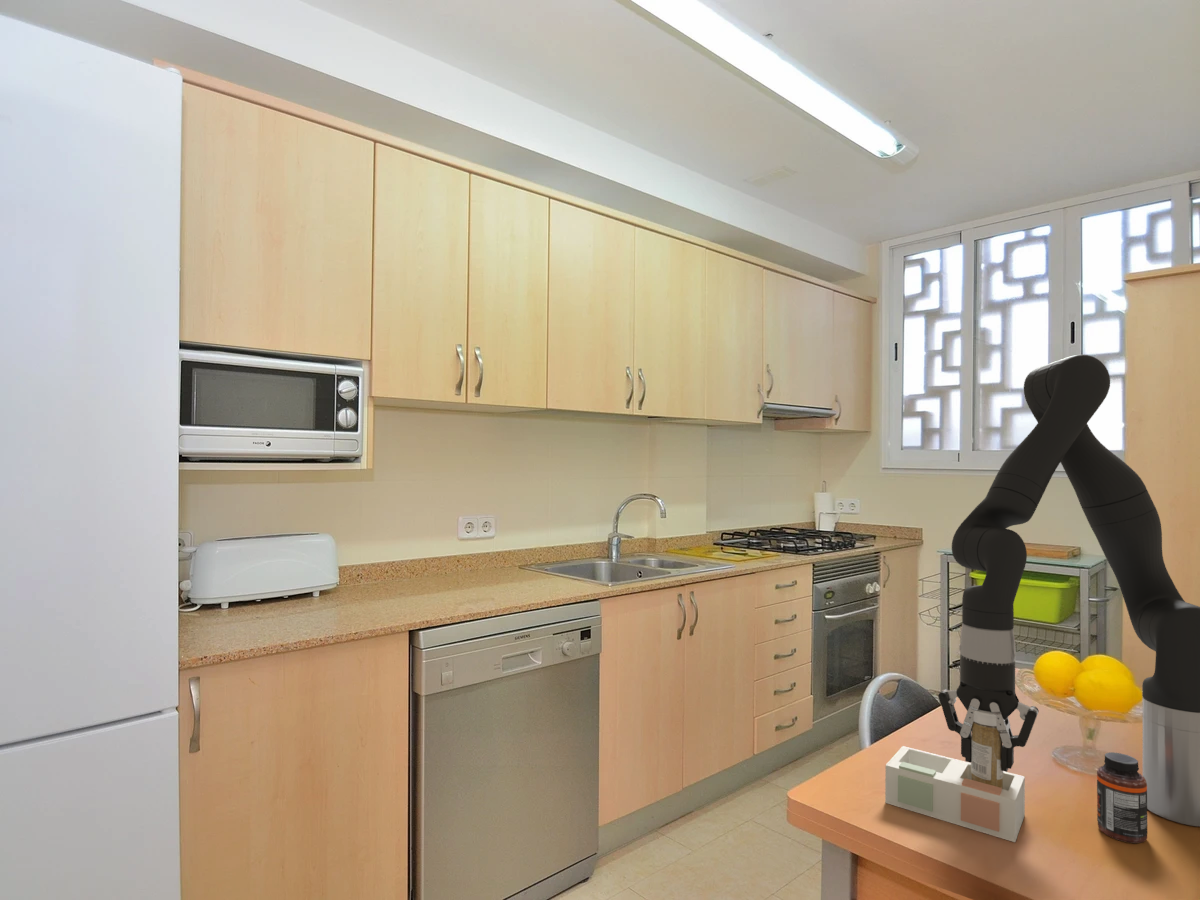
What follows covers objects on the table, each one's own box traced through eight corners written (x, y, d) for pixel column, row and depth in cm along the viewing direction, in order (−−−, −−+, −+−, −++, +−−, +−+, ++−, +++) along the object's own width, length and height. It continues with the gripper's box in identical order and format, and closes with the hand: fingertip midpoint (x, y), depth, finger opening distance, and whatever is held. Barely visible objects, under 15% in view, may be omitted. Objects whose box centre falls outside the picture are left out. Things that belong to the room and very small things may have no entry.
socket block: (1024, 815, 107) (1024, 773, 107) (1014, 843, 99) (1014, 798, 99) (902, 781, 118) (902, 743, 118) (884, 803, 110) (884, 763, 110)
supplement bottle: (1098, 819, 106) (1098, 745, 106) (1147, 833, 102) (1147, 756, 102) (1095, 835, 101) (1095, 758, 102) (1147, 850, 98) (1146, 769, 98)
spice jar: (1010, 802, 105) (1011, 713, 105) (983, 803, 104) (983, 714, 104) (989, 788, 109) (990, 703, 110) (963, 789, 109) (964, 704, 109)
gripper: (1044, 658, 106) (1043, 770, 105) (943, 642, 115) (942, 745, 114) (1038, 669, 100) (1037, 787, 99) (931, 651, 109) (931, 759, 108)
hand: (986, 764), depth 107 cm, fingers closed on spice jar, 4 cm apart
